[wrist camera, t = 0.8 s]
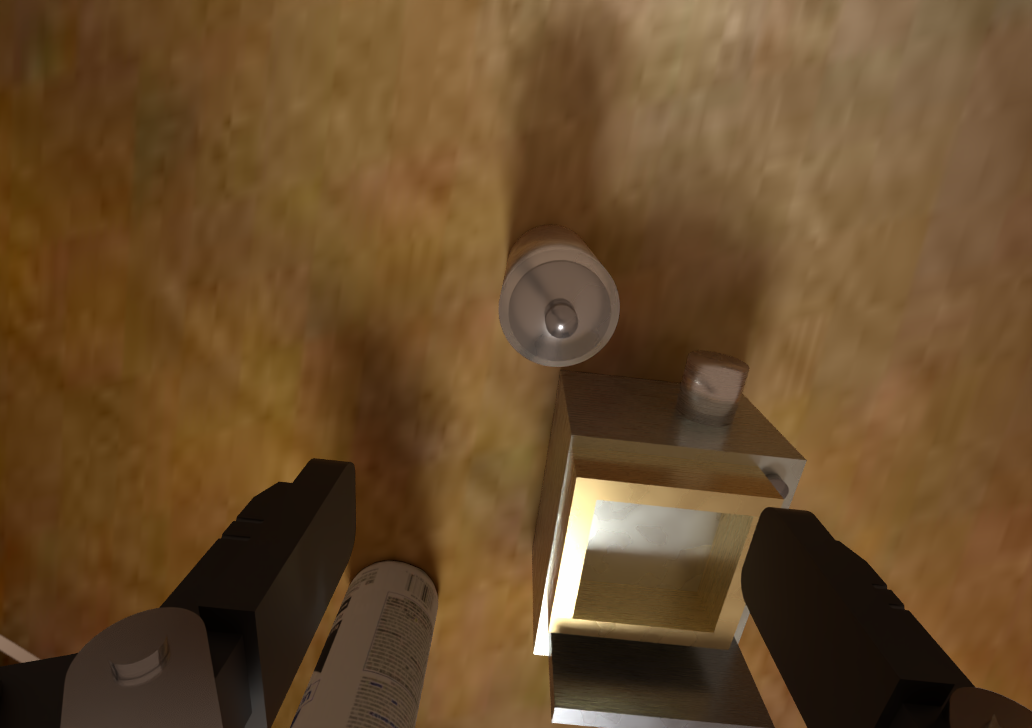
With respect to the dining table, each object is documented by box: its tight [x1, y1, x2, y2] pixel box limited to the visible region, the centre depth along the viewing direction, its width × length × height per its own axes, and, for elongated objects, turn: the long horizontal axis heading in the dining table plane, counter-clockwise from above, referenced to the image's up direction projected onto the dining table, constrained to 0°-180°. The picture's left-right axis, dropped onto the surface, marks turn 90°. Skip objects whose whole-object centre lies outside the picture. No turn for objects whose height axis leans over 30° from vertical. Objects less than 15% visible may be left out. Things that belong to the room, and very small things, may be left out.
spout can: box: [499, 225, 620, 367], centre depth 23 cm, size 5×5×11 cm
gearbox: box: [532, 351, 807, 728], centre depth 27 cm, size 17×11×13 cm, turn 174°
